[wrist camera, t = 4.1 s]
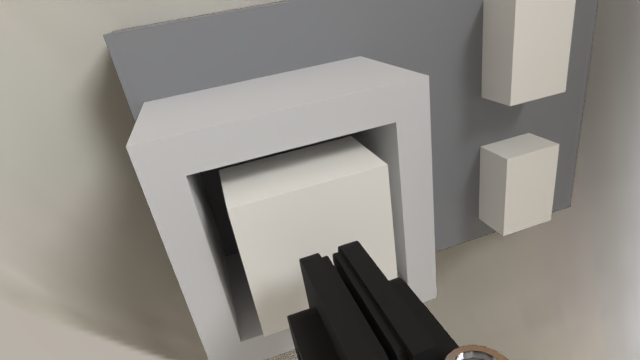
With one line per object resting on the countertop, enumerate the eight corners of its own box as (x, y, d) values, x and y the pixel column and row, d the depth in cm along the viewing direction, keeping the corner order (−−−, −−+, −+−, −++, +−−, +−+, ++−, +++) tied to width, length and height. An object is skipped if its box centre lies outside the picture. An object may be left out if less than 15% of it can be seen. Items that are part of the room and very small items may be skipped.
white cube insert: (351, 135, 15) (388, 164, 12) (364, 245, 17) (398, 289, 14) (218, 169, 14) (226, 209, 11) (250, 281, 16) (264, 336, 13)
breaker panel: (553, -47, 21) (752, -76, 14) (532, 187, 27) (663, 255, 20) (115, 30, 17) (61, 50, 9) (207, 290, 23) (218, 428, 15)
